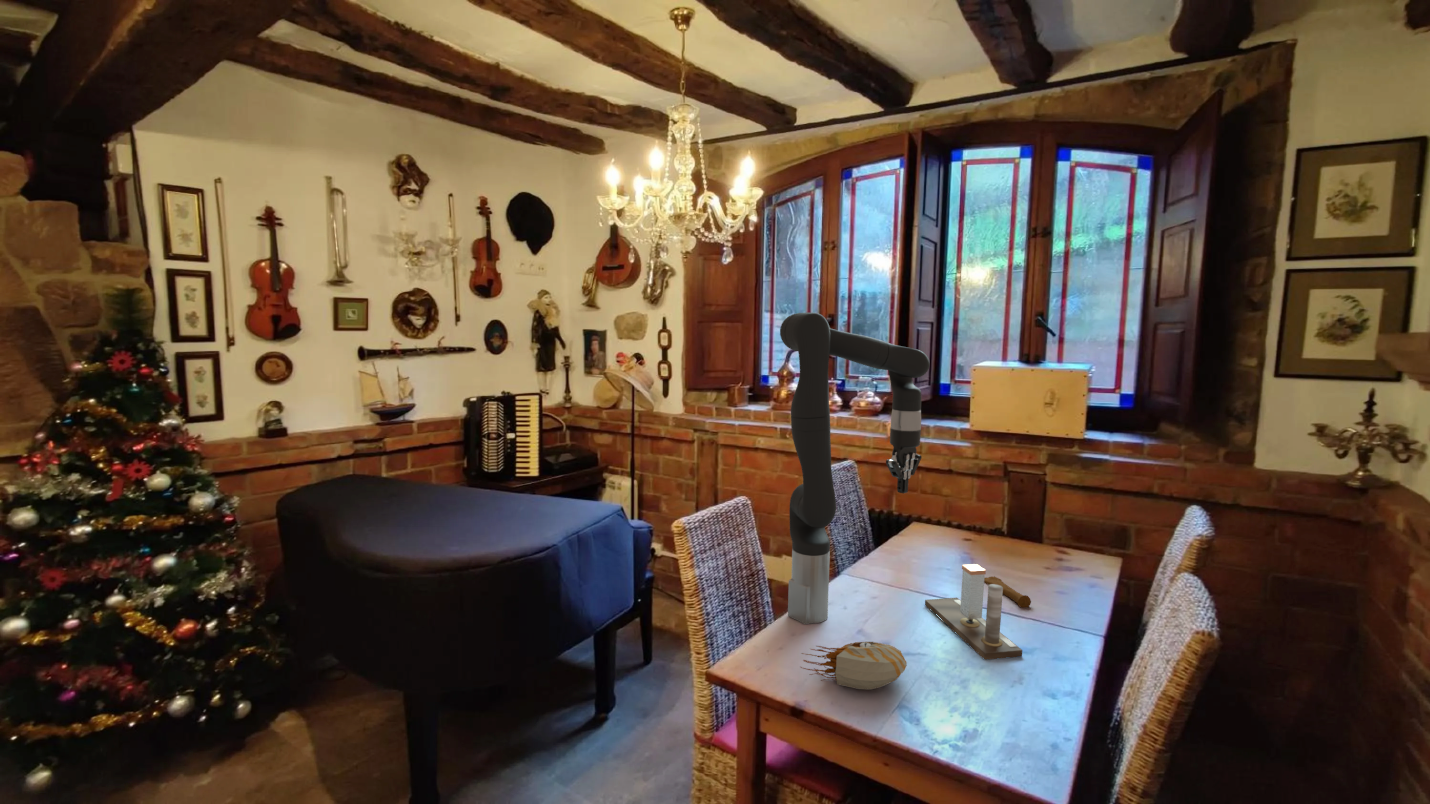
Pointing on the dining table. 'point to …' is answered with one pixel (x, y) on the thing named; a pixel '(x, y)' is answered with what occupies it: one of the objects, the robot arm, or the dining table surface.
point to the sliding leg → (972, 591)
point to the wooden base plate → (978, 625)
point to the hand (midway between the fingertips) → (902, 492)
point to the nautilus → (862, 664)
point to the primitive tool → (1010, 592)
